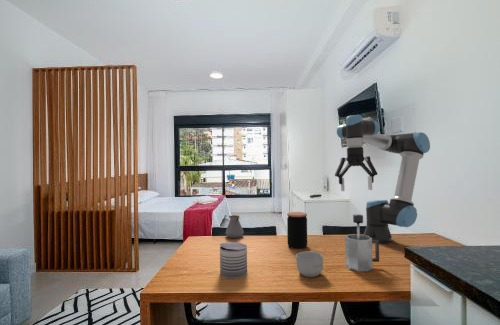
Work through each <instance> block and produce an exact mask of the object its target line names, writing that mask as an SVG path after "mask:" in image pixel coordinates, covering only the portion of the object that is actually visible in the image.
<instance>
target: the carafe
mask: <svg viewBox="0 0 500 325" xmlns="http://www.w3.org/2000/svg"><path fill="white" fill-rule="evenodd" d="M344 238H345V243H344V244H345V246H344V247H345V267H346V268H347V269H348V270H351V271H353V272H354V271H355V272H361V273H363V272H364V273H365V272H368V273H369V272H370V271H372V270H373V263H379V262H380V243H379V241H378V240H372V238H371V237H369V236H366V235H364V234H360V240H357V233H356V234H355V233H353V234H347V235H345V236H344ZM373 244H374V249H375V250H374V252H375V254H374V256H375V257H374V258H373Z"/></svg>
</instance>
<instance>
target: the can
mask: <svg viewBox="0 0 500 325" xmlns="http://www.w3.org/2000/svg"><path fill="white" fill-rule="evenodd" d="M219 271H220V273H219V274H220V276H221V277H222V278H226V279H240V278H243V277H245V276H246V275H247V273H248V245H247V244H244V243H241V242H236V241H235V242H233V241H227V242H221V243H220V244H219Z"/></svg>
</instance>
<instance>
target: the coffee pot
mask: <svg viewBox="0 0 500 325" xmlns="http://www.w3.org/2000/svg"><path fill="white" fill-rule="evenodd" d="M228 218H229V219H230V220H229V222H228V225H227V227H226V230H225V232H224V233H225V235H226V236H227V237H228V238H230V239H238V238H242V236H243V235H244V232H245V231H244V229H243V226H242V224H241V222H240V215H235V214H233V215H229V216H228Z"/></svg>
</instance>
